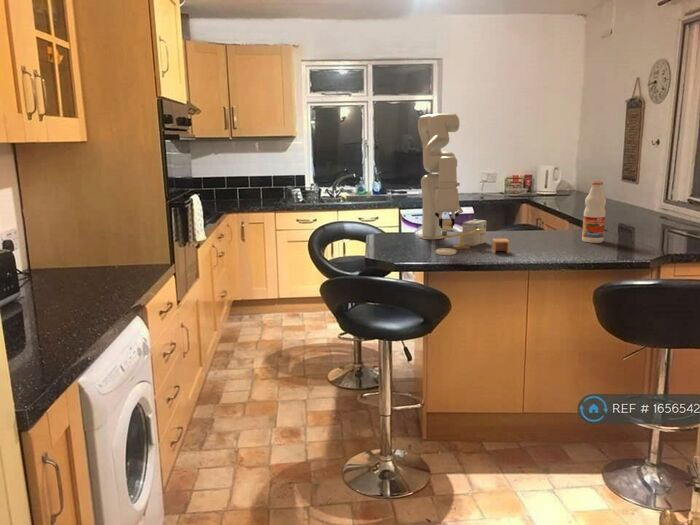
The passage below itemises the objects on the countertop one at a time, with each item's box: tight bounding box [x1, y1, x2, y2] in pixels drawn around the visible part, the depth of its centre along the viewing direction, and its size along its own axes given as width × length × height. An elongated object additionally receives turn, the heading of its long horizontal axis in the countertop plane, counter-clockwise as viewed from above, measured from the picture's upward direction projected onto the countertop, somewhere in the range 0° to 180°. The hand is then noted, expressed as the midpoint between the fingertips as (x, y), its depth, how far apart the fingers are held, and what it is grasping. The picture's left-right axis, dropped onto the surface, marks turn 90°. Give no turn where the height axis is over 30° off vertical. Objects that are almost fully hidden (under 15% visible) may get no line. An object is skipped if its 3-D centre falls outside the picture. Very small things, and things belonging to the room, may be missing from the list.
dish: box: [435, 247, 457, 256], centre depth 256 cm, size 9×9×1 cm
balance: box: [440, 228, 484, 250], centre depth 266 cm, size 5×20×9 cm, turn 86°
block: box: [441, 217, 452, 231], centre depth 254 cm, size 4×4×4 cm
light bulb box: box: [462, 218, 487, 247], centre depth 274 cm, size 11×7×11 cm, turn 135°
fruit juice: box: [581, 181, 607, 244], centre depth 272 cm, size 9×9×28 cm
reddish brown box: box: [491, 238, 510, 255], centre depth 256 cm, size 6×6×5 cm
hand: (446, 227), depth 254 cm, fingers closed on block, 4 cm apart
